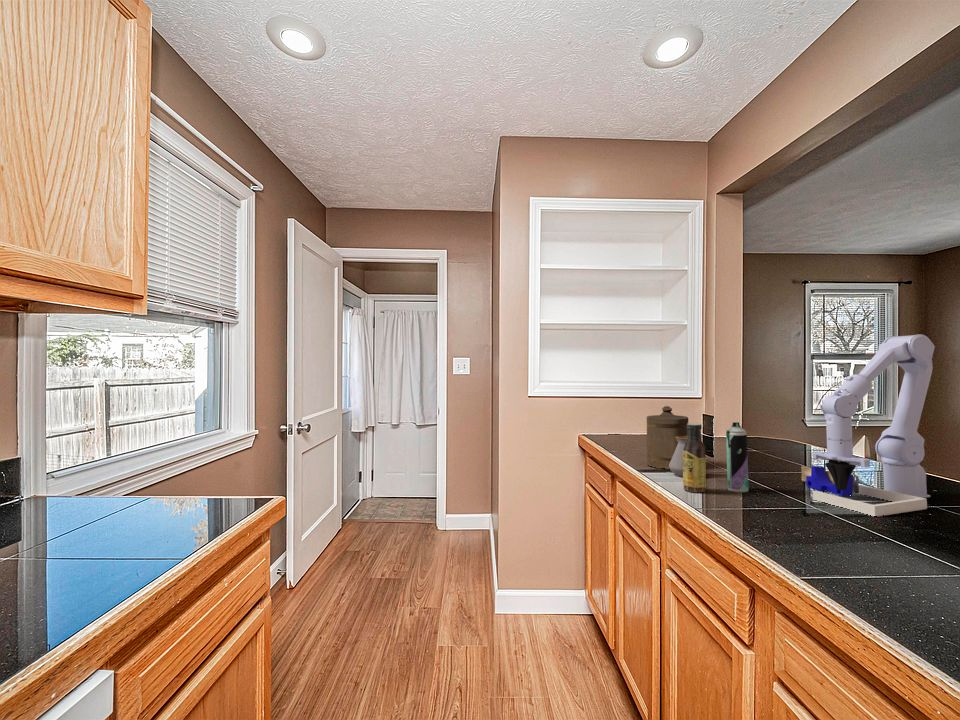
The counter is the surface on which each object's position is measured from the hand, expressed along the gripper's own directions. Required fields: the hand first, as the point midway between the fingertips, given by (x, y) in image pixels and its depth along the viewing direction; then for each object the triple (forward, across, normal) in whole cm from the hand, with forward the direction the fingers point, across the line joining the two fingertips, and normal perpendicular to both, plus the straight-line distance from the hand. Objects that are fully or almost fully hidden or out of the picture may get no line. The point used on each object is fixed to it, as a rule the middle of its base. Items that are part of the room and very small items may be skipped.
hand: (841, 489), depth 138 cm
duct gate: (+2, -11, +8) cm, 14 cm away
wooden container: (+3, -56, -13) cm, 57 cm away
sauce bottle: (+3, -22, -30) cm, 37 cm away
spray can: (+3, -18, -18) cm, 25 cm away
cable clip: (+3, -7, +4) cm, 8 cm away
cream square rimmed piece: (+2, +6, 0) cm, 7 cm away
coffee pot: (+3, -36, -20) cm, 41 cm away
